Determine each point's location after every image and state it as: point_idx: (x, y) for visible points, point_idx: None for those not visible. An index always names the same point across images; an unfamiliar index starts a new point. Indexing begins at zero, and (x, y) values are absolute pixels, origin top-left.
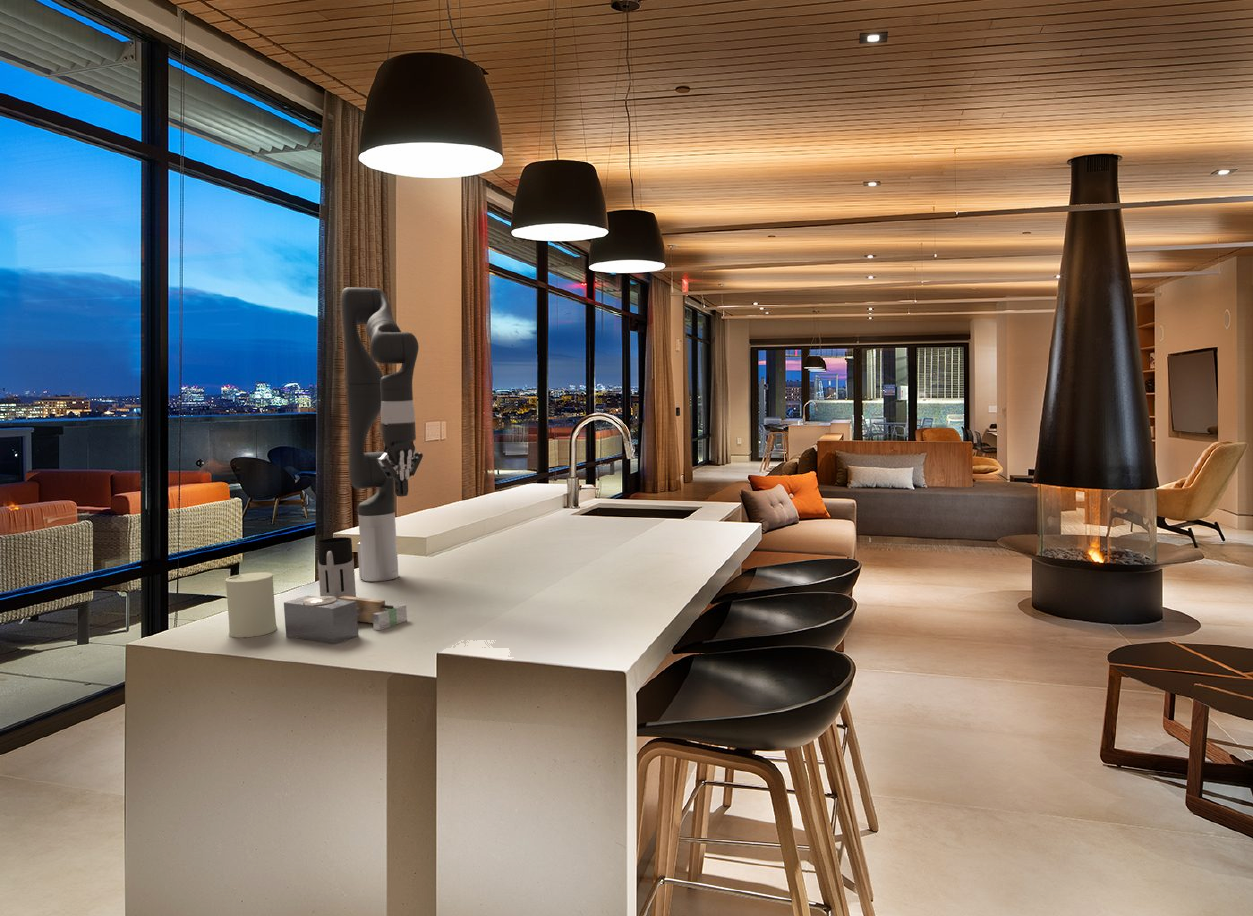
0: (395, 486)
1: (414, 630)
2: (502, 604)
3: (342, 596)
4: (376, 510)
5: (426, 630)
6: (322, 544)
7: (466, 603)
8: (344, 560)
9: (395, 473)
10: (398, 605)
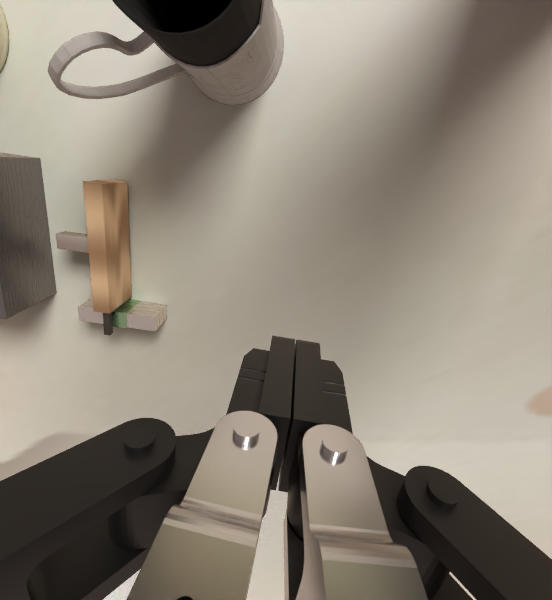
0: (236, 390)
1: (123, 363)
2: None
3: (94, 185)
4: None
5: (131, 381)
6: None
7: None
8: (182, 58)
9: (115, 562)
10: (147, 318)
